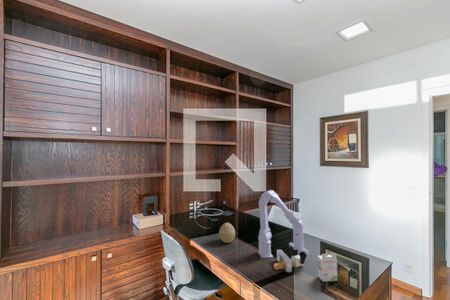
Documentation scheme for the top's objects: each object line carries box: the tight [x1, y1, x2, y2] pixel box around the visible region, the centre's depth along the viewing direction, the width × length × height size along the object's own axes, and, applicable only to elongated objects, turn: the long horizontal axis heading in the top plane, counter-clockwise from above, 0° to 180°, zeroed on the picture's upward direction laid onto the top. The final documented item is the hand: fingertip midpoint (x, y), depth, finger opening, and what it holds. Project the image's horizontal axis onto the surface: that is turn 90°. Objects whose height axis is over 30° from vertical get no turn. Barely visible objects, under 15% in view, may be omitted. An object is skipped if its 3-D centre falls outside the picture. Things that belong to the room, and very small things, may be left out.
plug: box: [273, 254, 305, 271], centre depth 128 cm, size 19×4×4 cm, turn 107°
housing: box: [276, 249, 293, 273], centre depth 129 cm, size 14×3×7 cm, turn 9°
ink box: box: [317, 252, 339, 282], centre depth 115 cm, size 9×5×15 cm, turn 92°
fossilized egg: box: [218, 222, 236, 244], centre depth 165 cm, size 13×13×15 cm
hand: (299, 261), depth 130 cm, fingers closed on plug, 5 cm apart
